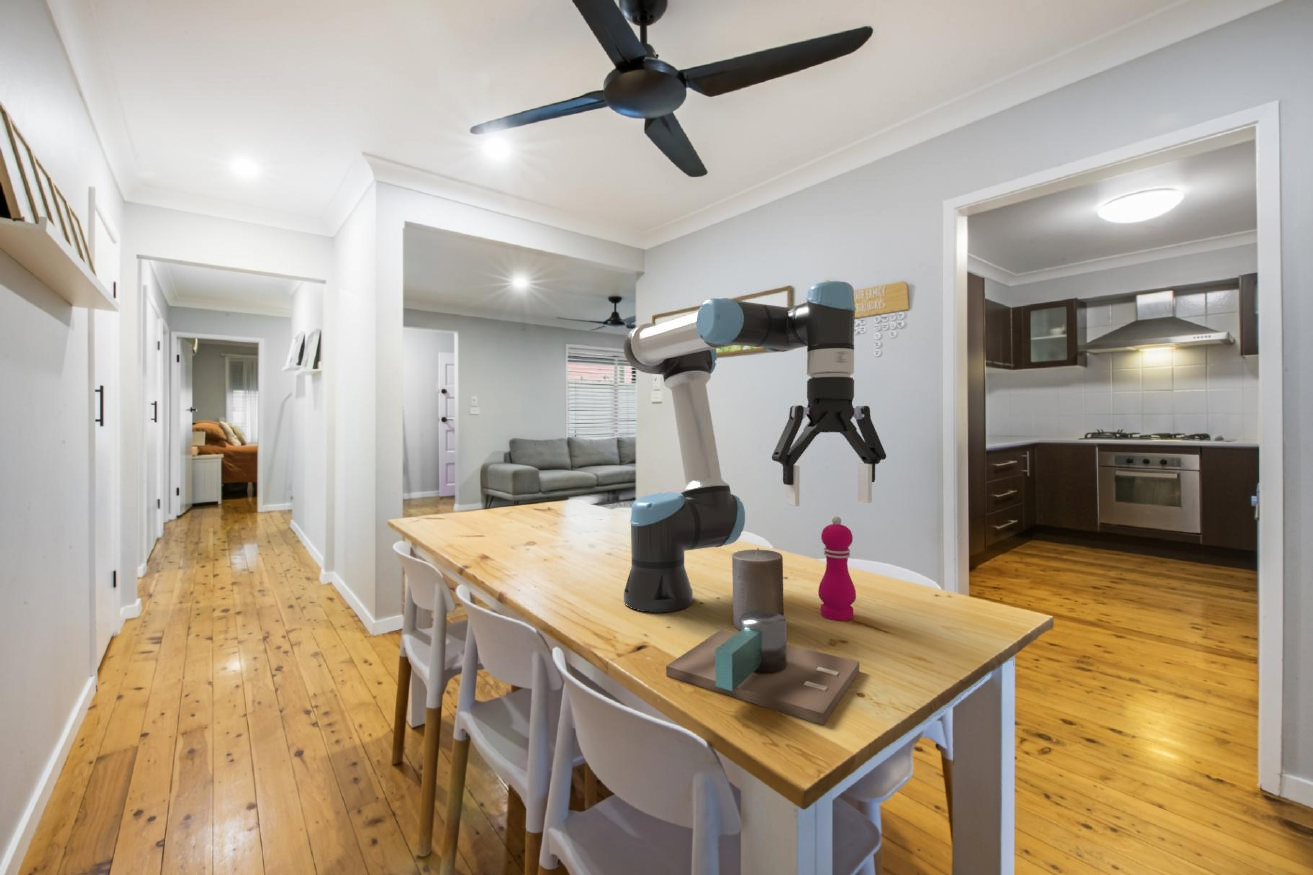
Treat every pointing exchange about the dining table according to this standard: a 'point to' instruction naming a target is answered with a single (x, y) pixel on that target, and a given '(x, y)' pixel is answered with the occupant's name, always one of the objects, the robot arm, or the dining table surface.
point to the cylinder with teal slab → (752, 649)
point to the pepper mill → (837, 573)
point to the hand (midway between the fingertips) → (829, 503)
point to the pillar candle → (757, 582)
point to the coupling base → (775, 679)
